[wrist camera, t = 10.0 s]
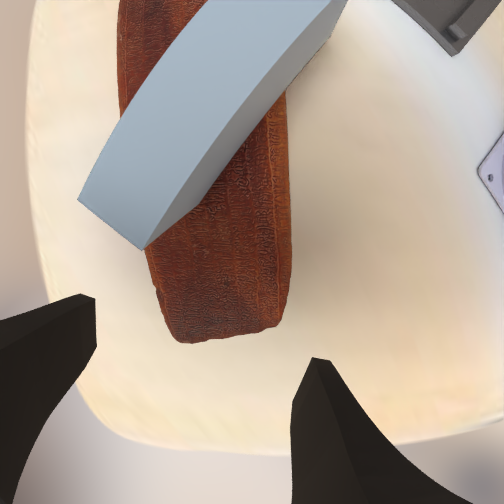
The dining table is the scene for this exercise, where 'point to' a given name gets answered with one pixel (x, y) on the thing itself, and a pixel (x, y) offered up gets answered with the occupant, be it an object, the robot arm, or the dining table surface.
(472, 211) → the dining table surface
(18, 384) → the robot arm
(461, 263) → the dining table surface
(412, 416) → the dining table surface
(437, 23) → the metal plate
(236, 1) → the pale blue upright panel
